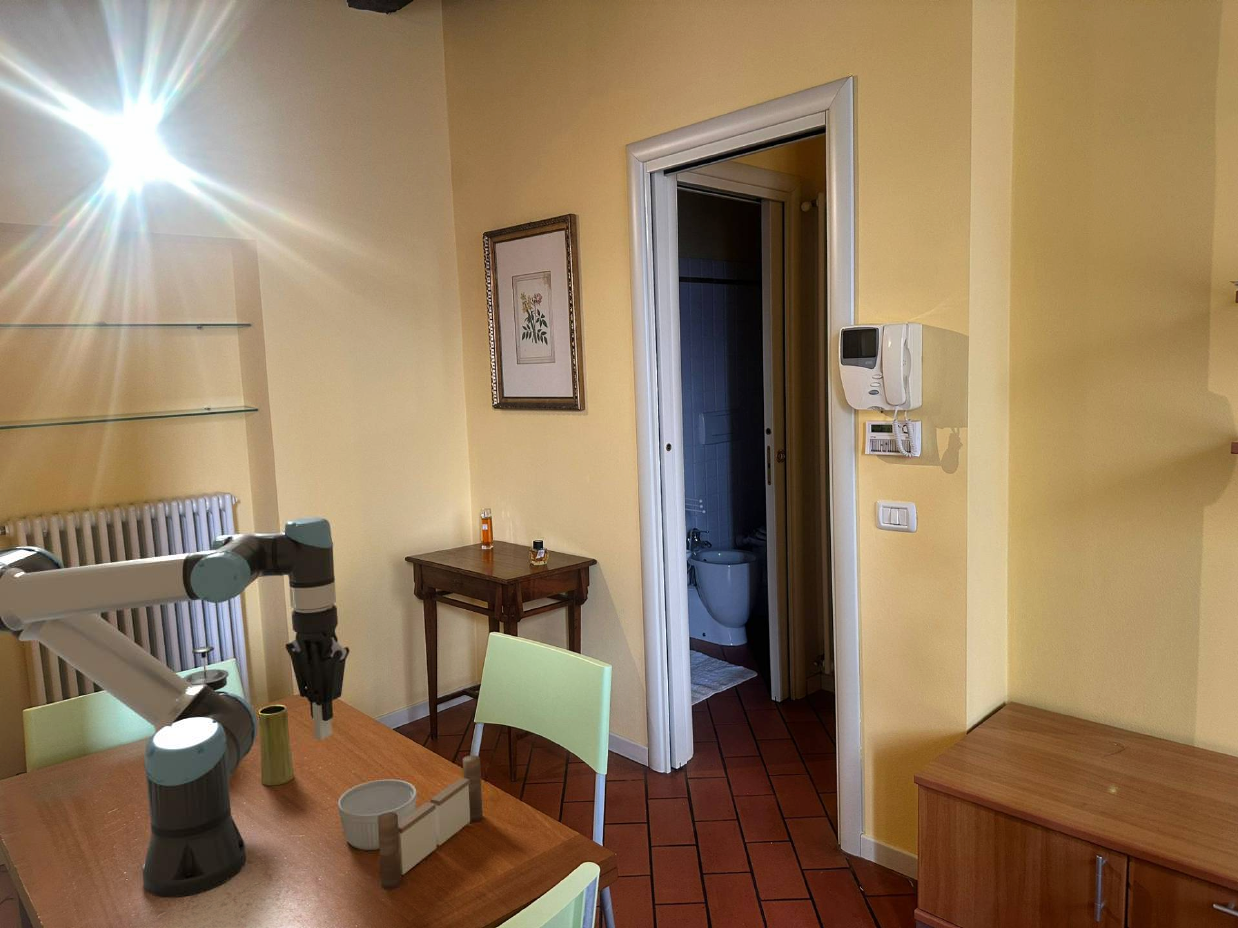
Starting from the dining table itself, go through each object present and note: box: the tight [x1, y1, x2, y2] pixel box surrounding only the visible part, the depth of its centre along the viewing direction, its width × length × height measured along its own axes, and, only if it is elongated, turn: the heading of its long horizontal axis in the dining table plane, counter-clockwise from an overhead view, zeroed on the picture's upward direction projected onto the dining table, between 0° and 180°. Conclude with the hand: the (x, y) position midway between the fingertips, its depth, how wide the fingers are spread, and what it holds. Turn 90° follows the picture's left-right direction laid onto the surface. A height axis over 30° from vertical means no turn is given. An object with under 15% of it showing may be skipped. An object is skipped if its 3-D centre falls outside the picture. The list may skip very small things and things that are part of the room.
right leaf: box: [430, 777, 471, 846], centre depth 153 cm, size 8×2×8 cm, turn 154°
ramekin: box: [337, 778, 418, 851], centre depth 154 cm, size 13×13×7 cm
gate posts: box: [378, 754, 484, 890], centre depth 149 cm, size 25×3×11 cm, turn 154°
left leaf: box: [398, 801, 437, 876], centre depth 145 cm, size 8×2×8 cm, turn 154°
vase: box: [258, 704, 295, 787], centre depth 176 cm, size 6×6×14 cm
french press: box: [182, 646, 230, 694], centre depth 188 cm, size 12×9×23 cm
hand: (323, 736), depth 158 cm, fingers closed
